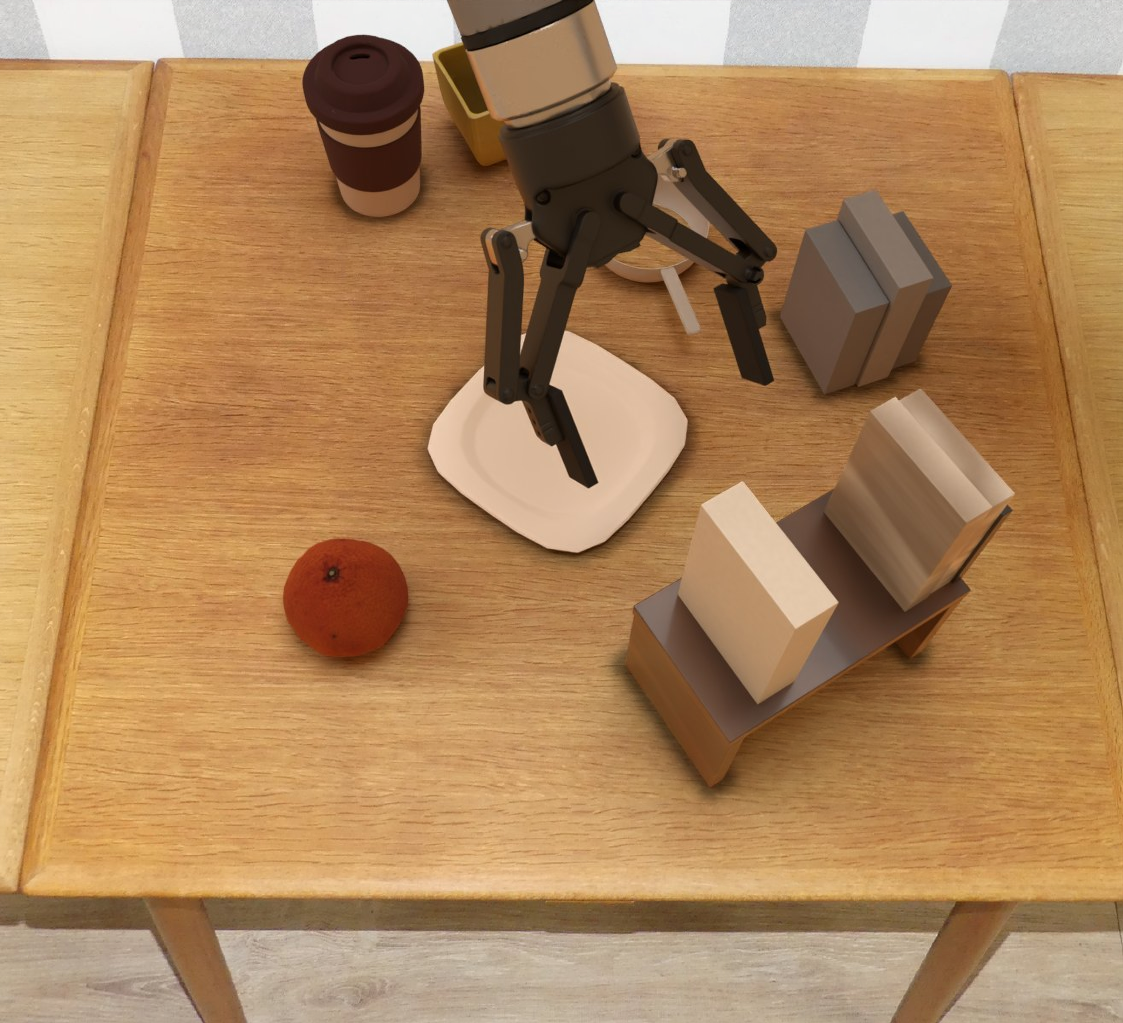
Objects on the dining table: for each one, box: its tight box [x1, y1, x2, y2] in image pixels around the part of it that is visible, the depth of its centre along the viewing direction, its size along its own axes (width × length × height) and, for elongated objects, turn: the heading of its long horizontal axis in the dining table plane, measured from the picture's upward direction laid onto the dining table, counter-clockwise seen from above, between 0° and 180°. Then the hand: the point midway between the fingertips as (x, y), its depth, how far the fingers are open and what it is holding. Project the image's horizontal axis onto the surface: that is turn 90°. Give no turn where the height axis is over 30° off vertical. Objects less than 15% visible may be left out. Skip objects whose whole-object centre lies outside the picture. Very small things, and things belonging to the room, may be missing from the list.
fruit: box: [282, 537, 409, 658], centre depth 90 cm, size 9×9×8 cm
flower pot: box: [431, 41, 507, 167], centre depth 111 cm, size 9×9×9 cm
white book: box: [678, 480, 839, 704], centre depth 74 cm, size 9×3×13 cm, turn 32°
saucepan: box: [604, 175, 711, 336], centre depth 107 cm, size 11×18×4 cm, turn 16°
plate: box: [426, 330, 689, 554], centre depth 100 cm, size 18×18×2 cm
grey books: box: [779, 189, 953, 395], centre depth 99 cm, size 9×9×14 cm
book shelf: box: [624, 388, 1016, 788], centre depth 81 cm, size 20×11×25 cm, turn 122°
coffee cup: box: [301, 34, 425, 218], centre depth 106 cm, size 10×10×15 cm
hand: (673, 429), depth 78 cm, fingers open, 13 cm apart
